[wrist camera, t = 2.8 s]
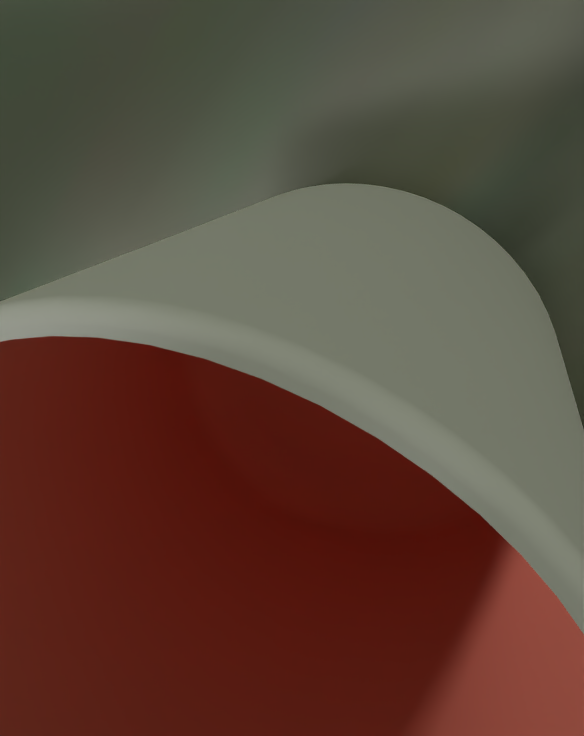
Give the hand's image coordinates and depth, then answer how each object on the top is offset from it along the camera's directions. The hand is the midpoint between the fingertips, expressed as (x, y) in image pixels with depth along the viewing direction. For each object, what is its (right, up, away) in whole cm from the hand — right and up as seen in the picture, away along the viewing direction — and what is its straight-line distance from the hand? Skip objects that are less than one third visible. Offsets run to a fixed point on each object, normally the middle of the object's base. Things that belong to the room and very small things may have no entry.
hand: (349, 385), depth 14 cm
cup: (0, +1, +1) cm, 1 cm away
